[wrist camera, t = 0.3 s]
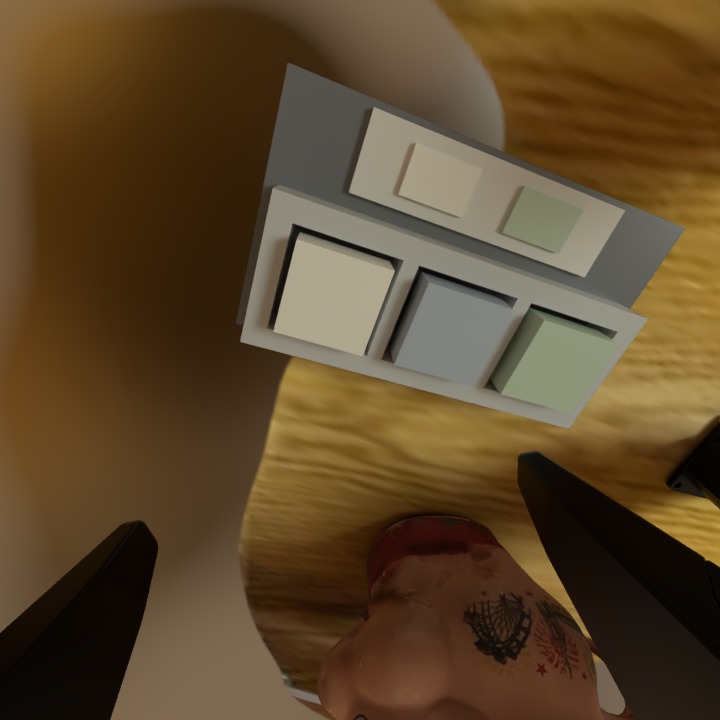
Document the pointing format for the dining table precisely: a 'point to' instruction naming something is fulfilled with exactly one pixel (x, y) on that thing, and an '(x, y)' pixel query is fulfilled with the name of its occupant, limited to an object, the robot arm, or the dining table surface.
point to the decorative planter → (458, 636)
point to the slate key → (449, 330)
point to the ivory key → (332, 294)
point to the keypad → (440, 233)
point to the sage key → (551, 361)
